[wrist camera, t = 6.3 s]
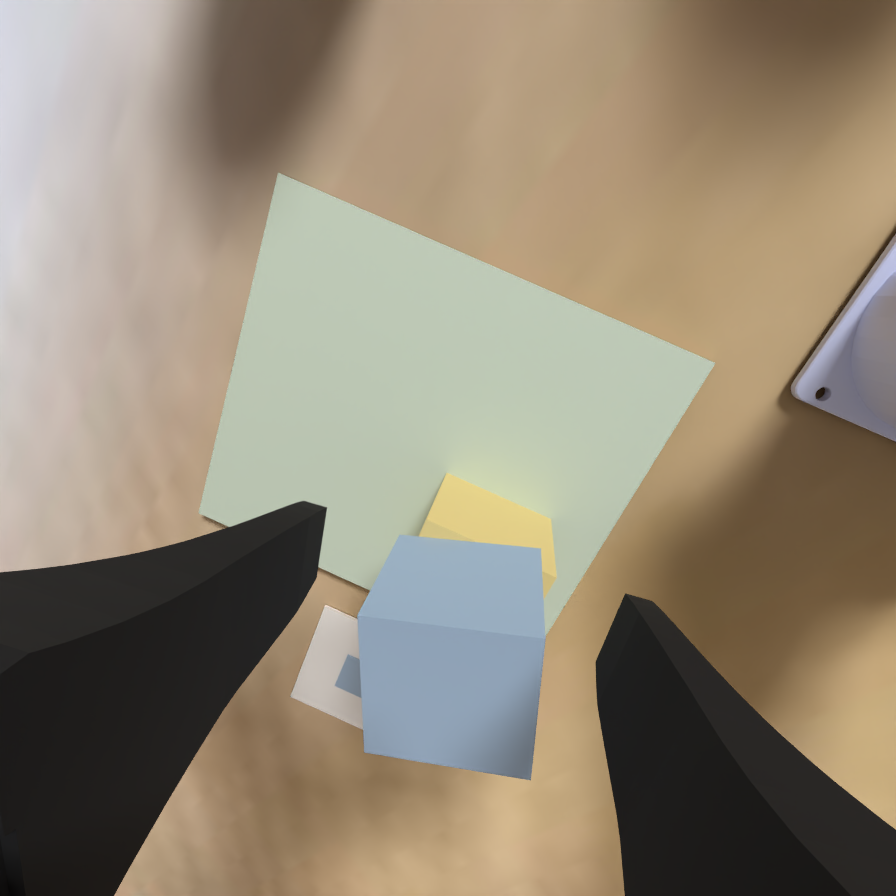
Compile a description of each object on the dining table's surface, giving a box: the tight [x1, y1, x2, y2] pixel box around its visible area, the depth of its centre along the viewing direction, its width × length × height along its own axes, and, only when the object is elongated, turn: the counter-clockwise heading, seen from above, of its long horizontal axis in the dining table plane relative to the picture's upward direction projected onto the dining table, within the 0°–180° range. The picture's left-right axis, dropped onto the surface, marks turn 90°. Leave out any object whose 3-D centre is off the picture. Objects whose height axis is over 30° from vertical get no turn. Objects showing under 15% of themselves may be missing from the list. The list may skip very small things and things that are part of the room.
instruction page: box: [290, 605, 363, 730], centre depth 26 cm, size 9×7×1 cm
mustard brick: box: [419, 473, 557, 599], centre depth 20 cm, size 5×5×4 cm
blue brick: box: [357, 535, 545, 780], centre depth 15 cm, size 5×5×4 cm
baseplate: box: [199, 173, 715, 636], centre depth 21 cm, size 18×16×1 cm
